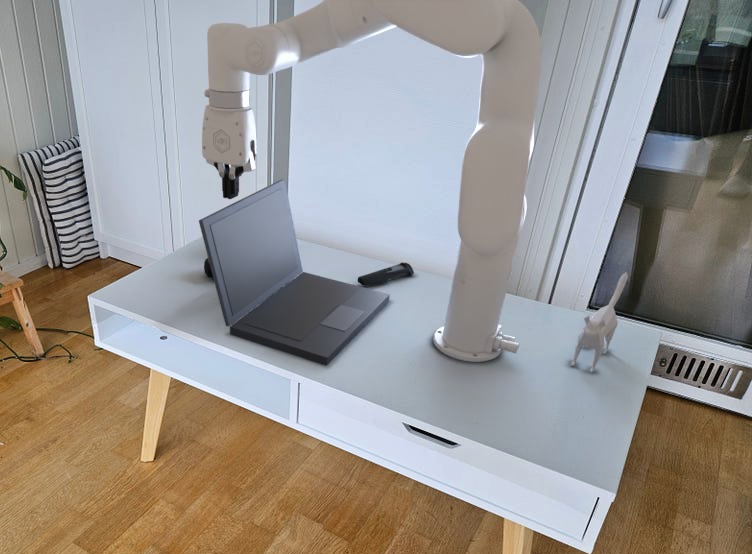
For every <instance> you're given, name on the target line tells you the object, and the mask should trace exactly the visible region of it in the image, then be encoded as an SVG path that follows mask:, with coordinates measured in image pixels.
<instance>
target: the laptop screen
mask: <svg viewBox="0 0 752 554" xmlns="http://www.w3.org/2000/svg"><path fill="white" fill-rule="evenodd" d="M198 224H199V227H200V231H201V236H202V240H203V244H204V247H205V250H206V251H205V252H206V255H207V258H208V259H209V263H210V267H211V271H212V275H213V278H212V279H213V283H214V286H215V291H216V294H217V297H218V301H219V305H220V310H221V313H222V318H223V322H224V325H225V327H230V326H231V325H233V324H234V323H235V322H237V321H238V320H239V319H241V318H242V317H243V316H245V315H246V314H247V313H249V312H250V311H252V310H253V309H254V308H256V307H257V306H258V305H260V304H261V303H262V302H264V301H265V300H266V299H268V298H269V297H270V296H272V295H273V294H274V293H276V292H277V291H278V290H280V289H281V288H282V287H284V286H285V285H286V284H288V283H289V282H290V281H292V280H293V279H294V278H296V277H297V276H298V275H300V274H301V273H303V272H304V271H303V266H302V261H301V256H300V250H299V245H298V241H297V236H296V230H295V224H294V220H293V215H292V209H291V204H290V199H289V193H288V189H287V184H286V179H285V178H282V179H280V180H277V181H276V182H274V183H271V184H269V185H268V186H265V187H264V188H261V189H259V190H257V191H255V192H253V193H251V194H250V195H247V196H245V197H243V198H241V199H239V200H236V201H235V202H232V203H230V204H229V205H227V206H225V207H222V208H221V209H219V210H217V211H215V212H213V213H211V214H209V215H207V216H205V217H203V218H200V219H199V220H198Z"/></svg>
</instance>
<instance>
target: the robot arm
mask: <svg viewBox="0 0 752 554" xmlns="http://www.w3.org/2000/svg"><path fill="white" fill-rule="evenodd" d="M396 27H397V29H400V30H402V31H404V32H406V33H408V34H410V35H412V36H414V37H415V38H418V39H420V40H421V41H424V42H426V43H428V44H430V45H432V46H434V47H436V48H438V49H440V50H442V51H444V52H447V53H449V54H451V55H453V56H457V57H459V58H474V57H479V56H480V57H481V61H482V71H481V79H480V86H479V102H478V103H479V104H478V112H477V113H478V114H477V121H476V126H475V129H474V132H473V133H472V134H471V136H470V138H469V139H468V141H467V143H466V145H465V148H464V151H463V156H462V162H461V175H460V184H459V185H460V186H459V199H458V211H457V232H458V237H459V238H460V242H459V247H458V252H457V256H456V263H455V267H454V271H453V277H452V282H451V288H450V293H449V298H448V304H447V310H446V315H445V319H444V325H443V326H441V327H439V328H438V329H436V330H435V332H434V333H433V338H432V339H433V345H434V346H435V347H436V349H438V350H439V351H440V352H441V353H443V354H444V355H446V356H448V357H450V358H453V359H456V360H459V361H464V362H470V363H480V362H481V363H483V362H489V361H491V360H494V359H496V358H498V356H500V354H501V353H502V351H506V352H509V353H512V354H517V353H518V350H519V348H520V343H519V342H516V337H515V336H512V335H507V334H503V333H504V332H502V331H501V330H502V325H501V324H499V323H500V320H501V316H502V311H503V308H504V303H505V298H506V294H507V290H508V286H509V282H510V278H511V275H512V272H513V271H512V270H513V267H514V263H515V260H516V259H515V258H516V254H517V251H518V250H517V249H518V245H519V242H520V238H521V234H522V231H523V227H524V223H525V219H526V215H527V211H528V209H527V208H528V207H527V206H528V203H527V197H526V187H527V180H528V173H529V165H530V160H531V158H532V154H533V151H534V147H535V123H536V114H537V113H536V112H537V107H538V98H539V97H538V96H539V85H540V75H541V66H542V45H541V37H540V33H539V29H538V25H537V23H536V21H535V19H534V17H533V15H532V14H531V12H530V10H528V8H527V7H526V5H524V4H523V3H522V2H521V1H520V0H322V1H321V2H320V3H318V4H317V5H315V6H313V7H311V8H309V9H307V10H305V11H303V12H301V13H299V14H296V15H294V16H292V17H290V18H287V19H285V20H282V21H280V22H279V21H278V22H274V23H268V24H265V25H259V26H252V27H248V26H247V25H245V24H242V23H233V22H219V23H213V24H211V25H210V26H208V29H207V38H206V41H207V75H208V89H205V90H204V97H205V98H208V104H207V105H205V107H204V113H203V119H202V131H201V153H202V157H203V159H205V161H206V164H209V165H211V166H213V167H214V168H215V169H216V171H217V172H218V175H219V178H221V191H222V198H223V199H227V200H232V199H234V198H237V197H238V196H239V193H240V177H242V174H244V173H250V172H253V171H256V164H255V161H256V159H257V154H258V153H257V149H258V147H257V145H258V143H257V142H258V141H257V129H256V120H255V113H254V110H253V108H252V107H251V74H252V75H255V76H267V75H271V74H273V73H277V72H278V71H282V70H286V69H289V68H292V67H293V66H296V65H298V64H301V63H303V62H306V61H308V60H311V59H313V58H316V57H318V56H320V55H323V54H326V53H328V52H331V51H333V50H336V49H343V48H346V47H347V48H348V47H349V46H351V45H354V44H357V43H359V42H361V41H364V40H367V39H369V38H371V37H374V36H377V35H378V34H381V33H383V32H386V31H389V30H391V29H393V28H396Z"/></svg>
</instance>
